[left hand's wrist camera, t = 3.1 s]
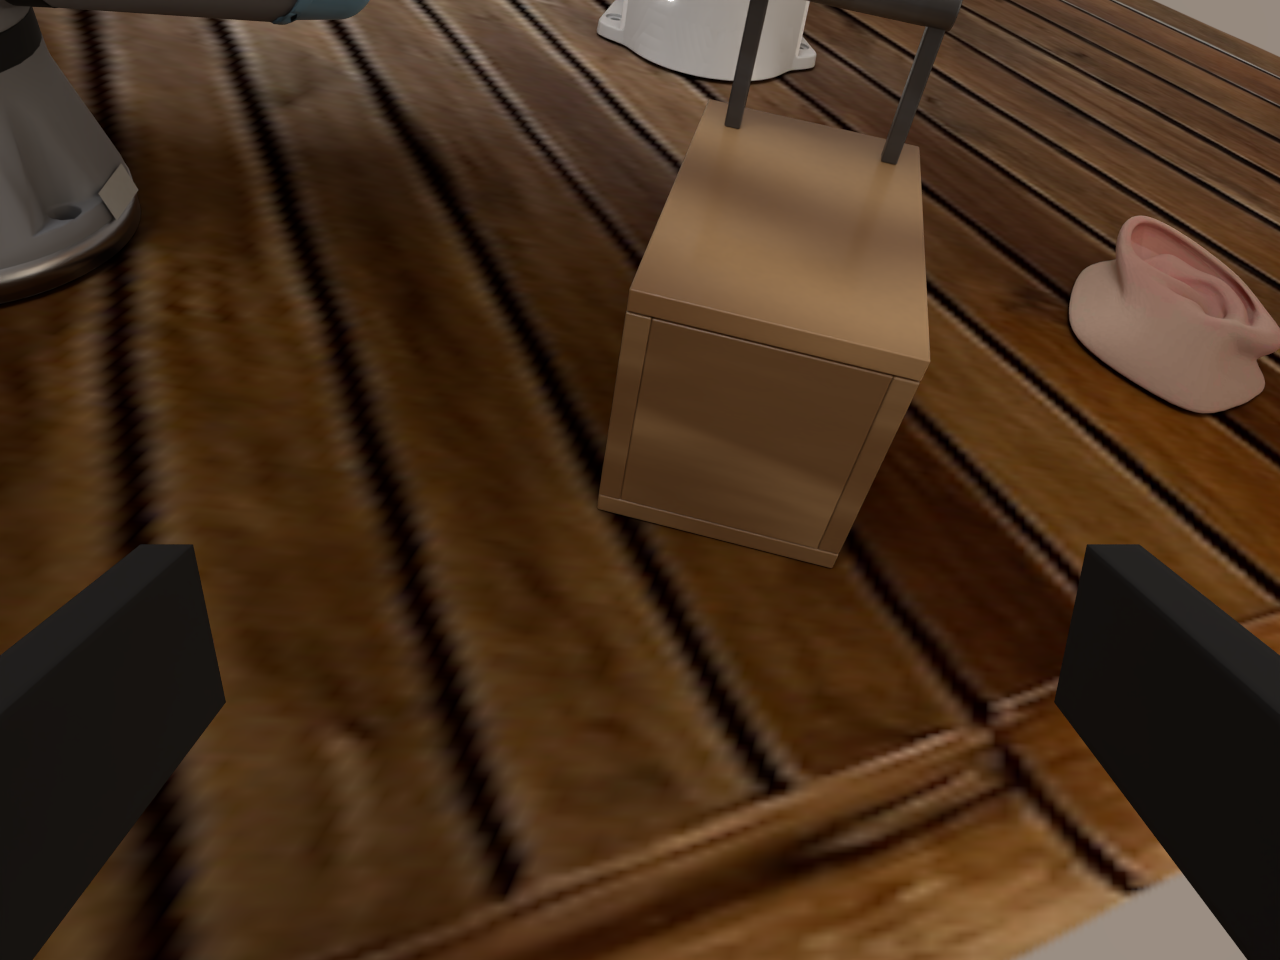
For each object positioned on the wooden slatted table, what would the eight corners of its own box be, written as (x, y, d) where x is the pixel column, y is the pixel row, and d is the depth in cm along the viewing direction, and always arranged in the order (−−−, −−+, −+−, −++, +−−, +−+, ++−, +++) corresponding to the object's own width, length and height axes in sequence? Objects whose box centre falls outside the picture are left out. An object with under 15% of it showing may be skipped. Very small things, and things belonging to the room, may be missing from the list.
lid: (705, 117, 40) (743, -82, 34) (912, 164, 39) (986, -30, 33) (625, 311, 28) (663, 55, 22) (920, 382, 27) (1036, 139, 22)
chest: (668, 302, 46) (702, 126, 39) (847, 345, 45) (912, 174, 38) (596, 509, 35) (625, 312, 28) (832, 569, 34) (920, 383, 27)
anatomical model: (1301, 380, 41) (1068, 280, 45) (1248, 440, 44) (1033, 342, 48) (1323, 276, 49) (1125, 199, 53) (1277, 332, 52) (1092, 256, 56)
